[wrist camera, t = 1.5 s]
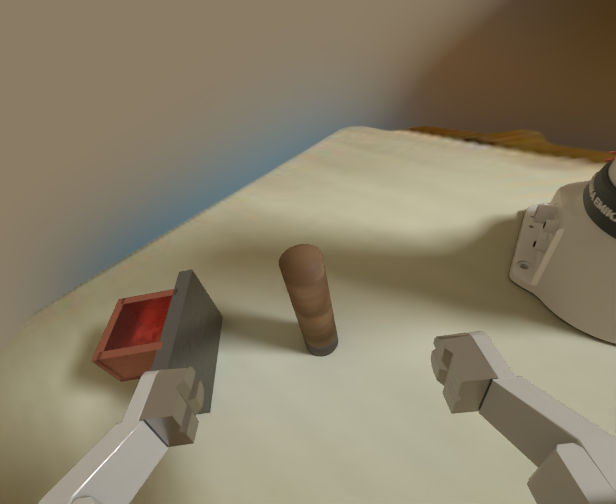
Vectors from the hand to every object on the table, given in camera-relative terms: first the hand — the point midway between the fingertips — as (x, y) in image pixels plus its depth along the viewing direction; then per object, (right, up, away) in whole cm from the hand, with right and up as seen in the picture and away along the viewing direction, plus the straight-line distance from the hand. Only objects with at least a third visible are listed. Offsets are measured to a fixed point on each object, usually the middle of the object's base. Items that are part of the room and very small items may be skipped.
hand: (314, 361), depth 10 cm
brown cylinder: (+1, -7, +25) cm, 26 cm away
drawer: (-15, -10, +26) cm, 32 cm away
